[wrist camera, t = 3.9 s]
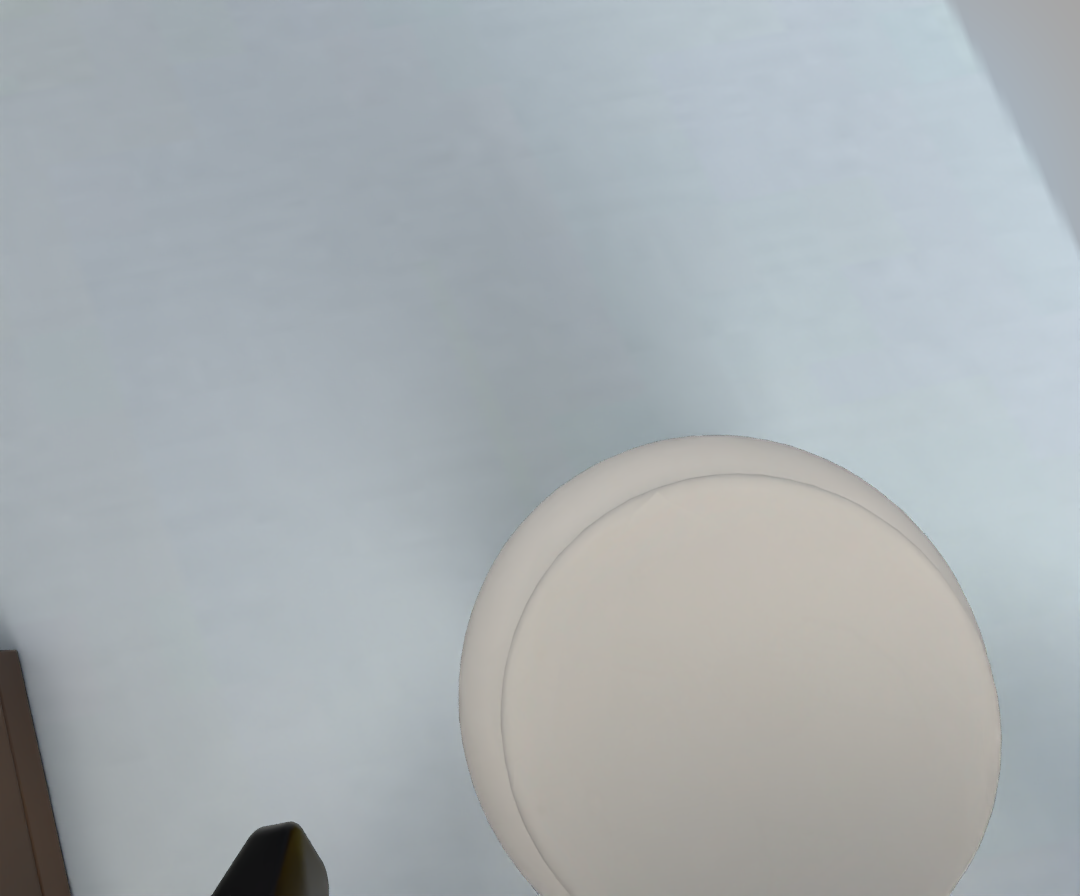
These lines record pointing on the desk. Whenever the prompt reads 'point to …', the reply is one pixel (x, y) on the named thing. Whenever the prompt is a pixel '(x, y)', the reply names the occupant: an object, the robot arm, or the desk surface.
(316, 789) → the desk surface
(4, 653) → the desk tray
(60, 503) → the desk surface
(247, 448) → the desk surface
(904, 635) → the supplement bottle
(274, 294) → the desk surface
